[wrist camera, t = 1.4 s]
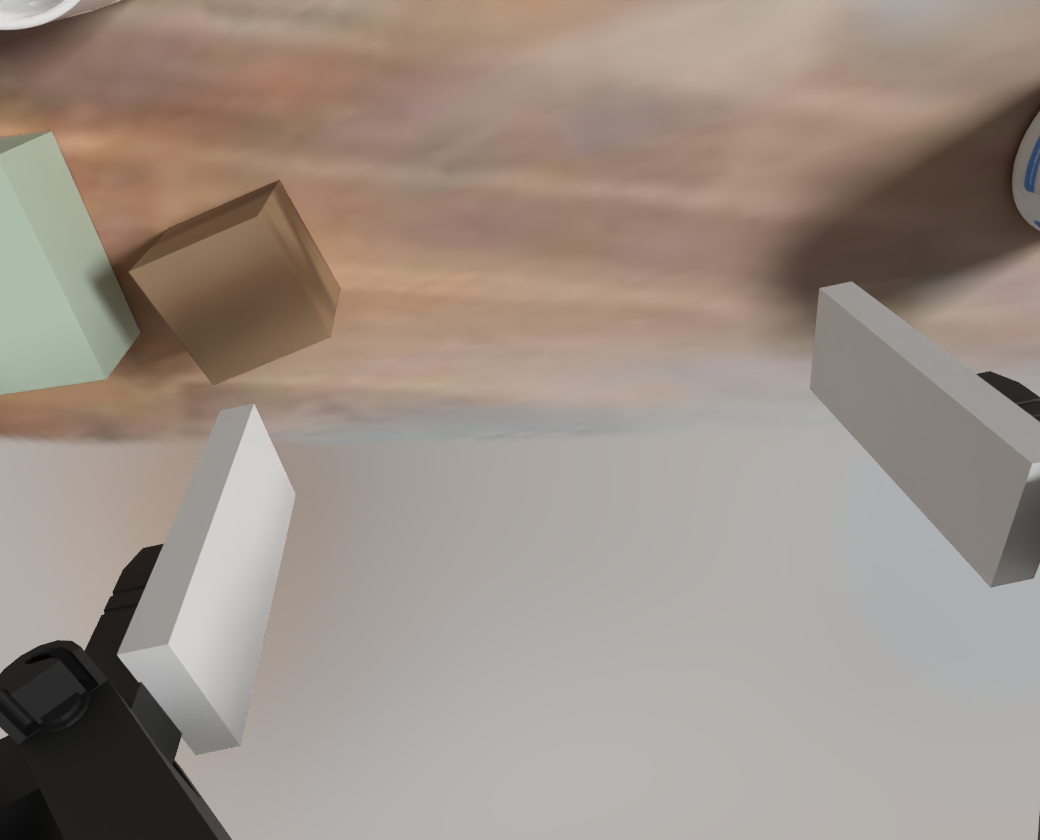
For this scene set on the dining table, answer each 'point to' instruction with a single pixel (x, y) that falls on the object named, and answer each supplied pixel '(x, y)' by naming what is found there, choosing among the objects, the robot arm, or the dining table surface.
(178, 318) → the walnut cube
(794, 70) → the dining table surface
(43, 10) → the white cup
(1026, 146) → the supplement tub
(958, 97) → the dining table surface
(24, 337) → the base block
